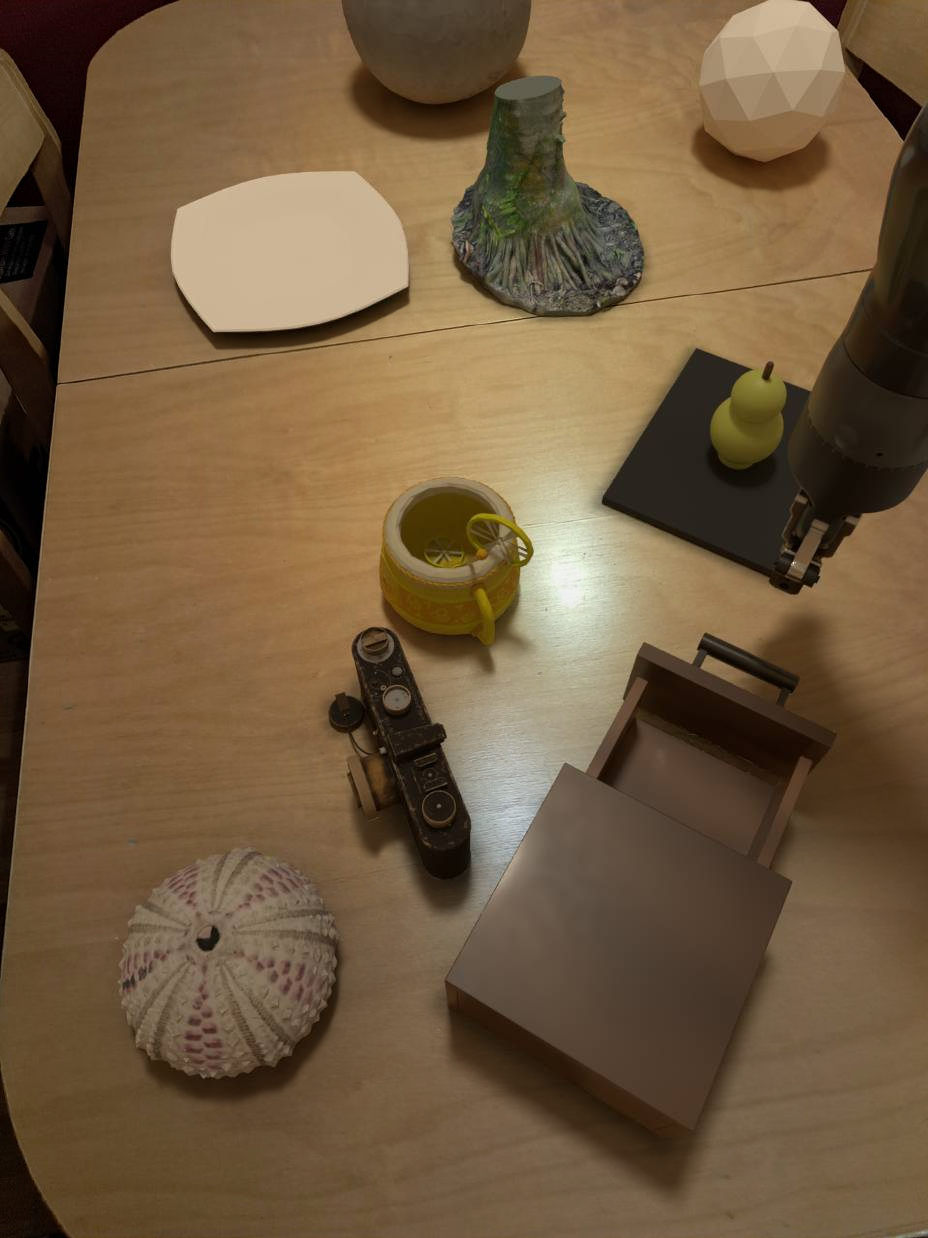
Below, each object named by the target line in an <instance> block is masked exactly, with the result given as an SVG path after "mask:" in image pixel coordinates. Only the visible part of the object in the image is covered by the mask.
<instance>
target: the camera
mask: <svg viewBox="0 0 928 1238" xmlns="http://www.w3.org/2000/svg"><path fill="white" fill-rule="evenodd" d="M350 651H351V654H352V655H351V656H352V658H353V661H354V666H355V669H356V675H357V679H358V683H359V688H360V695H361V700H359V699H358V698H357V697H355V696H352V695H347V694H346V692H345V691H342V692H341V693H338V694H335V695H334V697H335V699H334V700H333V701H332V702H331V703H330V705H329V707H328V712H327V713H328V718H329V721H330V722H331V723H332V724H333V725H334V726H336V727H337V728H338V729H342V730H348V733H349V735H350V738H351V740H352V742H353V744H354V745H355V747H356V748H357V749H358V750H359V751H360V752H361V753H363V754H364V755H365V756H363V757H360V756H359V754H357V753H356V754H353V755H350V756H347V757H346V758H345V759H346V763H347V767H348V769H349V772H346V776H347V779H348V782H349V785H350V789H351V791H352V795H353V798H354V801H355V803H356V806H357V809H358V810H359V809H362V812H363V814H364V817H365V820H366V821H367V822H370V821H372V820H375V819H378V818H379V812H381V811H385V810H388V809H390V808H394V807H395V806H399V805H400V806H401V808H402V811H403V814H404V817H405V819H406V822H407V826H408V827H409V830H410V833H411V835H412V838H413V841H414V844H415V846H416V849H417V853H418V856H419V858H420V860H421V863H422V866H423V868H424V871H425V872H426V873H427V874H428V875H429V876H430V877H432V878H433V879H436V880H440V881H450V880H451V881H452V880H454V879H456V878H459V877H460V876H461V875H463V874H464V873H465V872H466V871H467V869H468V868H469V866H470V863H471V859H472V850H471V832H472V820H471V816H470V814H469V811H468V808H467V807H466V803H465V801H464V799H463V796H462V793H461V791H460V789H459V787H458V784H457V782H456V779H455V777H454V774H453V771H452V769H451V767H450V763H449V761H448V759H447V757H446V754H445V752H444V751H445V750H444V749H443V746H442V744H443V743H444V742H445V740H446V739H447V738H448V736H447V731H446V729H445V726H444V725H443V723H441V724H440V722H435V723H433V721H432V718H431V717H430V713H429V712H428V709H427V706H426V704H425V701H424V699H423V696H422V694H421V691H420V689H419V687H418V684H417V682H416V679H415V676H414V673H413V672H412V669H411V666H410V664H409V661H408V659H407V656H406V654H405V651H404V649H403V646H402V644H401V641H400V639H399V637H398V635H397V634H396V633H395V632H394V631H393V630H392V629H390V628H388V627H383V626H369V627H368V628H366V629H363V630H362V631H360V632H359V633H357V635H356V636H355V637H354V639H353V641H352V643H351V650H350ZM364 709H365V710H366V712H367V715H368V717H369V721H370V722H371V726H372V728H373V729H372V730H374V731H373V732H372V734H373V736H375V738H376V740H377V743H378V751H376V752H374V753H373V752H372V753H371V752H368V751H365V750H364V749H362V748H361V747H360V746H359V745H358V743H357V742H356V740H355V737H354V736H353V732H352V730H351V729H352V728H354V727H356V726H358V725H359V724H360V722H362V719H363V716H364V712H365V711H364Z"/></svg>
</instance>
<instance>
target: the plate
mask: <svg viewBox="0 0 928 1238" xmlns="http://www.w3.org/2000/svg"><path fill="white" fill-rule="evenodd" d="M172 229H173V230H172V235H171V239H170V240H171V241H170V262H171V264H170V265H171V271H172V272H171V273H172V275H173V277H174V278H175V281H176V283H177V285H178V288H179V289H180V291H181V292H182V294H183V296H184V297H185V299H186V301H187V302H188V304H189V305H190V306H191V307H192V309H193V310H194V311H195V312H196V314H197V315H198V316H199V317H200V319H201V320H202V321H203V322H204V323H205V324H206V326H208V328H209V329H210V330H211V331H212V332H213V333H214V334H244V333H246V334H247V333H270V332H271V333H273V332H282V331H283V332H284V331H292V330H301V329H305V328H311V327H316V326H320V325H324V324H328V323H331V322H335V321H337V320H341V319H343V318H346V317H349V316H351V315H353V314H356V313H359V312H361V311H364V310H366V309H369V308H370V307H373V306H375V305H377V304H378V303H380V302H383V301H384V300H387V299H388V298H390V297H392V296H395V295H396V294H398V293H401V292H403V291H404V290H407V289H408V288H409V276H410V267H409V250H408V243H407V237H406V232H405V230H404V226H403V223H402V221H401V219H400V218H399V215H397V213H396V212H395V209H393V207H392V206H391V205H390V204H389V203H388V202H387V199H385V198H384V196H382V195H381V193H379V192H378V191H377V190H376V189H375V188H374V187H373V186H372V184H370V183H369V182H368V181H367V180H366V179H364V178H363V176H361V175H360V174H359V173H358V172H356V171H354V170H353V171H352V170H348V171H347V170H344V171H343V170H341V171H340V170H339V171H330V170H329V171H305V172H303V171H302V172H291V173H290V172H289V173H280V174H275V175H274V174H273V175H268V176H262V177H259V178H255V179H250V180H246V181H243V182H241V183H237V184H235V185H232V186H229V187H226V188H222V189H219V190H218V191H215V192H213V193H211V194H208V195H205V196H203V197H201V198H199V199H196V200H193V201H191V202H189V203H187V204H184V205H182V206H179V207H178V208H177V209H176V214H175V217H174V222H173V228H172Z"/></svg>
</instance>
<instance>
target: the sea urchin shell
mask: <svg viewBox="0 0 928 1238" xmlns="http://www.w3.org/2000/svg"><path fill="white" fill-rule="evenodd" d="M336 925H337V920H336V917H334V916H333V915H332V914H330V913H329V912H328V911H327V910H326V903H325V901H324V899H323V898H322V897H321V896H320V894H319V889H318V888H316V885H315V884H311V882H310V879H309V876H305V875H303V873H300V870H298V869H295V868H293V867H292V864H290V863H288V862H285V861H284V862H283V861H281V860H280V859H279V858H277V857H276V856H273V855H263V854H262V853H261V852H260V851H258V849H256V847H251V846H249V847H247V848H243V849H241V848H239V847H238V846H236V847H234V848H232V849H231V850H230V851H228V852H226V853H224V854H218V853H214V854H210V855H209V856H208V857H206V858H204V859H201V858H199V857H198V858H197V859H196V861H195V862H194V863H193V864H191V865H187V866H186V867H185V868H183V869H179V870H178V871H176V873H175V874H174V875H173V876H171V877H167V878H165V879H164V881H163V882H162V884H161V885H160V886H159V887H156V888H152V892H151V896H149V898H147V899H146V900H145V901H144V902H143V903H140V904H138V905H135V908H134V915H133V917H131V918H130V919H129V920H128V921H127V931H128V935H127V936H128V937H127V938H126V941H125V942H124V943H123V944H122V949H121V951H122V959H121V960H120V961H119V962H118V967H119V969H120V971H121V973H120V978H119V979H118V980H117V981H116V982H117V983H118V984H119V985H120V986H119V988H118V995H119V996H120V998H121V1002H120V1004H121V1006H120V1009H121V1010H123V1011H124V1012H125V1015H126V1016H125V1017H126V1021H127V1025H128V1026H129V1027H132V1028H133V1030H134V1033H135V1047H136V1048H138V1049H144V1050H145V1052H146V1053H147V1056H148V1057H149V1059H150V1061H164V1062H168V1063H169V1066H170V1067H171V1068H175V1070H177V1071H183V1072H184V1074H186V1075H187V1076H188V1077H189V1076H193V1075H200V1076H201V1078H202V1079H205V1078H215V1079H217V1080H218V1079H221V1078H222V1077H224V1076H228V1077H230V1078H236V1077H237V1076H238V1075H239V1074H242V1073H245V1074H250V1072H252V1071H253V1070H254V1069H255V1068H258V1067H260V1066H268V1067H273V1068H276V1067H277V1064H278V1063H279V1061H280V1060H281V1059H282V1058H283V1057H284V1058H285V1057H291V1056H292V1055H293V1051H294V1048H295V1047H296V1045H297V1044H298V1042H299V1041H301V1040H302V1038H304V1037H306V1036H307V1035H309V1034H310V1033H311V1031H312V1028H313V1025H314V1024H315V1023H317V1022H319V1021H320V1014H321V1012H322V1011H323V1010H325V1008H327V1007H328V999H329V998H330V997H331V995H332V987H333V985H334V984H335V982H336V981H337V978H336V975H335V969H336V967H337V966H338V964H337V963H338V960H337V958H336V956H335V955H336V946H337V945H338V943H339V940H340V937H341V935H340V934H339V933H338V931H337V929H336Z"/></svg>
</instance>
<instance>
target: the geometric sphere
mask: <svg viewBox="0 0 928 1238" xmlns="http://www.w3.org/2000/svg"><path fill="white" fill-rule="evenodd" d="M841 44H842V43H841V39H840V33H839V31H838V29H836V27H835V26H834V25H832V24H831V23H830V21H828V19H826V17H824V16H823V15H822V14H821V12H819V10H817V8H815V6H814V5H812V4H811V2H810V1H803V0H766V1H764V2H761V3H758V4H757V5H754V6H752V7H750V8H747V9H745V10H743V11H740V12H737V13H735V14H733V15H732V16H731V17H730V19H729V20H728V21H727V22H726V24H725V25H724V26H723V28H722V29H721V30H720V31H719V33H718V34H717V35H716V37H715V38H714V39H713V40H712V42H711V43H710V44H709V45H708V46H707V48H706V49H705V50H704V51H703V58H702V63H701V69H700V74H699V81H698V93H699V100H700V108H701V113H702V122H703V127H704V131H705V133H707V134H709V135H710V136H711V137H712V138H713V139H714V140H716V141H717V142H718V143H719V144H721V145H722V146H723V147H725V149H727V150H728V151H729V152H730V153H731V154H732V155H735V156H738V157H742V158H746V159H751V160H755V161H759V162H761V163H762V162H763V163H767V162H769V161H773V160H775V159H778V158H780V157H783V156H786V155H788V154H791V153H794V152H797V151H799V150H802V149H805V148H806V147H807V146H808V144H810V142H811V141H812V140H813V139H814V138H815V137H816V135H818V133H819V132H820V131H821V130H822V128H823V127H824V126H825V125H826V124H827V123H828V122H829V121H830V120H831V118H833V116H834V115H835V114H836V111H837V108H838V103H839V100H840V95H841V92H842V87H843V84H844V79H845V77H846V67H845V62H844V56H843V51H842V45H841Z"/></svg>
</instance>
